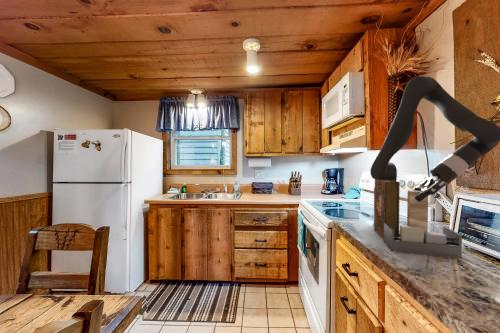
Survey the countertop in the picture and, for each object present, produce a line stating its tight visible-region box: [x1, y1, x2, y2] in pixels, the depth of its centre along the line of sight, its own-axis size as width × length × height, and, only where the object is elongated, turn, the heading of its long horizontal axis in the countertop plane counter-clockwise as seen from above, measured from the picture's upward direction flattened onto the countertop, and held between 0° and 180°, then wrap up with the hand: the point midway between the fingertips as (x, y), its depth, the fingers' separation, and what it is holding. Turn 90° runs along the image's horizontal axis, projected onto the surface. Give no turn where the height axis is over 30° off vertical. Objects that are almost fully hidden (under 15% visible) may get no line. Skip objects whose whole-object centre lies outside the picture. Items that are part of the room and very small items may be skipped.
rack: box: [383, 223, 463, 259], centre depth 93 cm, size 12×22×8 cm, turn 73°
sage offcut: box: [399, 225, 424, 243], centre depth 91 cm, size 2×7×9 cm, turn 73°
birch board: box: [406, 189, 429, 233], centre depth 95 cm, size 3×6×22 cm, turn 73°
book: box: [373, 179, 401, 240], centre depth 111 cm, size 16×6×25 cm, turn 168°
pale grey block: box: [424, 232, 446, 244], centre depth 89 cm, size 2×6×7 cm, turn 74°
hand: (413, 198), depth 95 cm, fingers open, 7 cm apart
